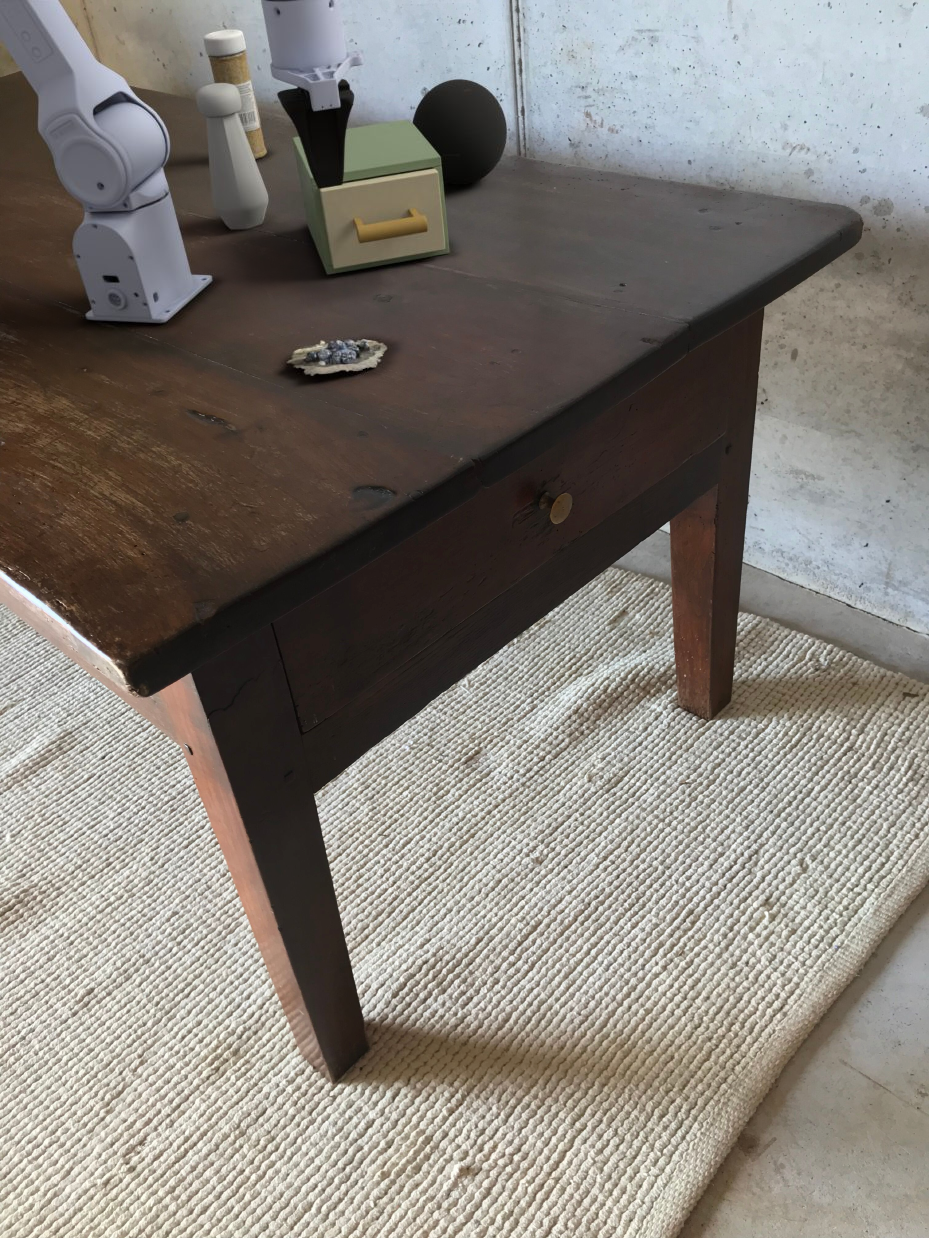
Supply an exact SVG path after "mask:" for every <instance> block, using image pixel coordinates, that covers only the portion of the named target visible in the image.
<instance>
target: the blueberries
mask: <svg viewBox="0 0 929 1238" xmlns="http://www.w3.org/2000/svg"><path fill="white" fill-rule="evenodd" d="M387 350H388V347H387V345H385V344H384V342H378V341H377V340H369V339H364V338H362V339H361V340H359V339H357V341H354V340H352V339H350V338H349V339H348V338H347V339H345V340H344V341H341V340H340V339H335V340H330V341H329V342H328V343H326V342H325V340H324V339H323V340H320V342H319V343H318V344H316V343H314V344H312V345H305V346H301V347H299V348H297V349H296V350H293V352H292V353H291V355H290V357H289V359H288V361H286V363H287V364H292V365H293V368H296V369H299V368H301V369H302V370H304V371H303V374H305V375H310V376H311V377H313V376H314V375H316V374H319V375H327V374H333V373H337V372H340V371H346V372H349V371H353V372H355V371H356V372H358V371H363V369H364V370H365V369H366V368H367V369H369V368H374V369H375V368H377V366H378V363H380V362H381V361H382V359H381V357H384V354H385V352H386V351H387Z"/></svg>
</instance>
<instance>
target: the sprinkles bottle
mask: <svg viewBox="0 0 929 1238" xmlns="http://www.w3.org/2000/svg"><path fill="white" fill-rule="evenodd" d="M203 44H204V49H205V53H206V55H208V56H207V58H208V59H209V60H208V61H209V63H210V68H211V72H212V77H213V81H214V82H213V84H215V83H228V84H232V85H234V86H235V87H236V88H237V89H238V92H239V94H240V97H241V104H242V107H241V109H240V110H239V111H238V112H237V113H238V115H239V118H240V121H241V123H242V126H243V129H244V132H245V134H246V137H247V140H248V142H249V145H250V148H251V150H252V153H253V156H254V158H255V160H258V159H261V158H263V157H264V156H265V155H267V147H266V146H265V142H264V135H263V132H262V126H261V118H260V114H259V108H258V103H257V99H256V96H255V92H254V91H255V90H254V86H253V82H252V78H251V72H250V68H249V63H248V59H247V50H246V49H247V46H246V40H245V36H244V32H243V31H242V30H239V29H221V30H217V31H213V32H210V33H207V34H205V35H204V36H203Z"/></svg>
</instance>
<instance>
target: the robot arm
mask: <svg viewBox="0 0 929 1238" xmlns="http://www.w3.org/2000/svg"><path fill="white" fill-rule="evenodd" d="M260 3H261V8H262V14H263V20H264V25H265V30H266V36H267V41H268V47H269V53H270V58H271V62H270V64H269V67H270V74H271V77H272V78H273V79H275V80H277V81H281V82H283V83H286V84H289V85H292V86H295V88H288V89H283V90H280V91H278V92H277V93H276V95H277V98H278V100H279V102H280V105H281V107H282V108H283V110H284V111H285V113H286V114H287V116H288V118H289V119H290V121H291V122H292V124H293V126H294V127H295V130H296V131H297V135H298V137H299V138H300V140H301V143H302V146H303V149H304V153H305V156H306V159H307V162H308V165H309V168H310V171H311V173H312V176H313V178H314V181H315V183H316V185H317V187H318V189H322V188H328V187H334V186H340V185H343V178H344V156H345V136H346V129H348V128H347V127H348V123H349V118H350V115H351V112H352V109H353V106H354V101H355V93H354V92H353V90H352V89H351V85H350V83H349V82H348V81H347V80H346V79H344V76H346V74H347V73H348V72H349V70H350V69H351V68H353V67H359V66H362V65H364V56H363V54H362V53H361V51H360V50H352V51H347V48H346V41H345V32H344V31H345V30H344V23H343V17H342V10H341V3H340V0H260ZM0 42H1V43H2V44H3V46H4V47H5V49H6V51H7V52H8V53H9V55H10V56H11V58H12V59H13V61H14V62H15V64H16V65H17V66H18V68H19V70H20V71H21V73H22V74H23V76H24V77H25V78H26V80H27V81H28V83H29V84H30V86H31V87H32V89H33V90H34V92H35V93H36V95H37V97H38V109H37V113H38V114H37V131H38V133H39V135H40V136H41V137H42V139H43V140H44V142H45V143H46V145H47V147H48V149H49V151H50V153H51V156H52V159H53V164H54V167H55V168H54V169H55V172H56V174H57V177H58V179H59V181H60V183H61V184H62V185H63V188H64V189H65V190H66V191H67V192H68V193H69V194H70V195H71V196H72V197H73V198H74V199H75V200H77V202H79V203H81V205H82V208H83V212H84V216H83V220H82V222H81V224H80V225H79V226H78V227H77V229H76V230H75V231H74V234H73V238H72V243H71V244H72V253H73V257H74V261H75V263H76V266H77V269H78V272H79V275H80V278H81V281H82V284H83V287H84V290H85V294H86V296H87V299H88V302H89V305H90V308H91V309H90V310H89V311H87V312H86V313H85V318H86V320H88V321H102V322H103V321H107V322H125V323H127V322H129V323H148V324H149V323H151V324H164V323H166V322H168V321H169V320H171V318H173V316H175V315H176V314H177V313H178V312H179V311H180V310H181V309H182V308H184V307H185V306H186V305H187V304H188V303H189V302H190V301H192V300H193V299H194V298H195V297H197V295H198V294H200V293H201V292H202V291H203V290H204V289H205V288H207V286H209V285H210V284H211V283H212V282H213V276H212V275H209V274H192V272H191V268H190V267H191V266H190V263H189V260H188V255H187V252H186V249H185V245H184V241H183V238H182V233H181V230H180V225H179V221H178V219H177V214H176V210H175V207H174V206H175V205H174V203H173V199H172V194H171V191H170V187H169V184H168V181H167V178H166V175H165V174H166V173H165V171H164V167H165V166H166V164H167V162H168V160H169V157H170V152H171V141H170V135H169V132H168V129H167V127H166V124H165V123H164V121H163V119H162V118H161V117H160V115H159V114H158V112H156V111H155V110H154V109H153V108H152V107H151V106H149V105H148V104H146V103H145V102H144V101H142V99H140V98H139V97H138V96H137V95H136V93H135V92H134V91H133V90H132V88H131V87H130V86H129V83H127V80H126V79H125V78H124V77H123V76H121V75H120V74H118V73H117V72H115V71H114V70H112V69H111V68H108V66H105V65H104V64H102V63H101V62H100V61H98V60H97V59H96V58H95V56H94V54H93V53H92V52H91V50H90V48H89V47H88V45H87V44H86V42H85V40H84V39H83V37H82V35H81V34H80V32H79V31H78V29H77V28H76V26H75V24H74V23H73V21H72V19H71V18H70V17H69V15H68V13H67V12H66V10H65V9H64V7H63V5H62V4H61V3H60V1H59V0H0Z"/></svg>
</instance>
